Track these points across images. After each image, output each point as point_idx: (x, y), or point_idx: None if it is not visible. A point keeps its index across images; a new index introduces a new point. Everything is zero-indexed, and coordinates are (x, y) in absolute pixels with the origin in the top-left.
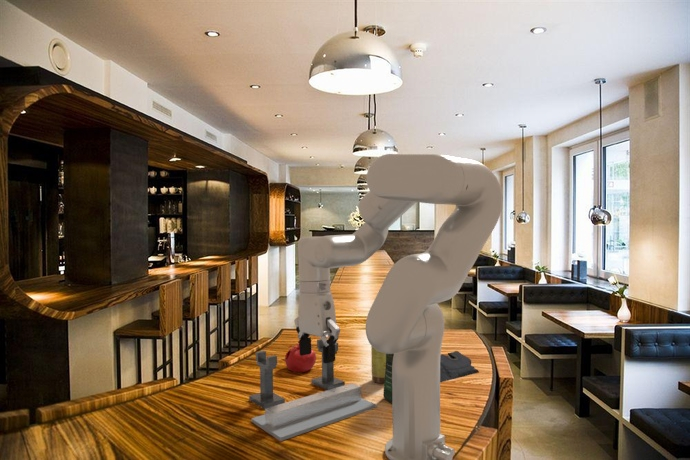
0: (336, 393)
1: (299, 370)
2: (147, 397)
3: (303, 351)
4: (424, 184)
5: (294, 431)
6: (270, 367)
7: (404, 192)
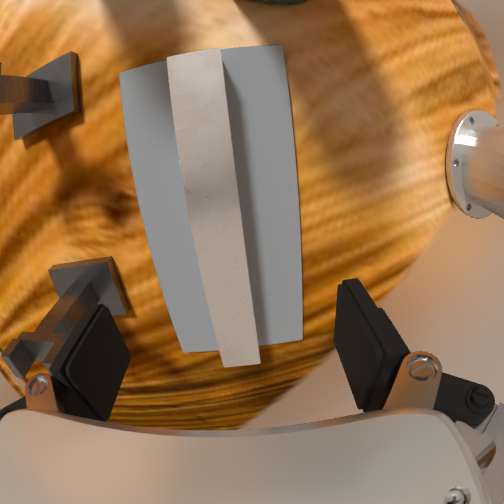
0: (228, 159)
1: None
2: None
3: (121, 361)
4: None
5: (297, 312)
6: None
7: None
